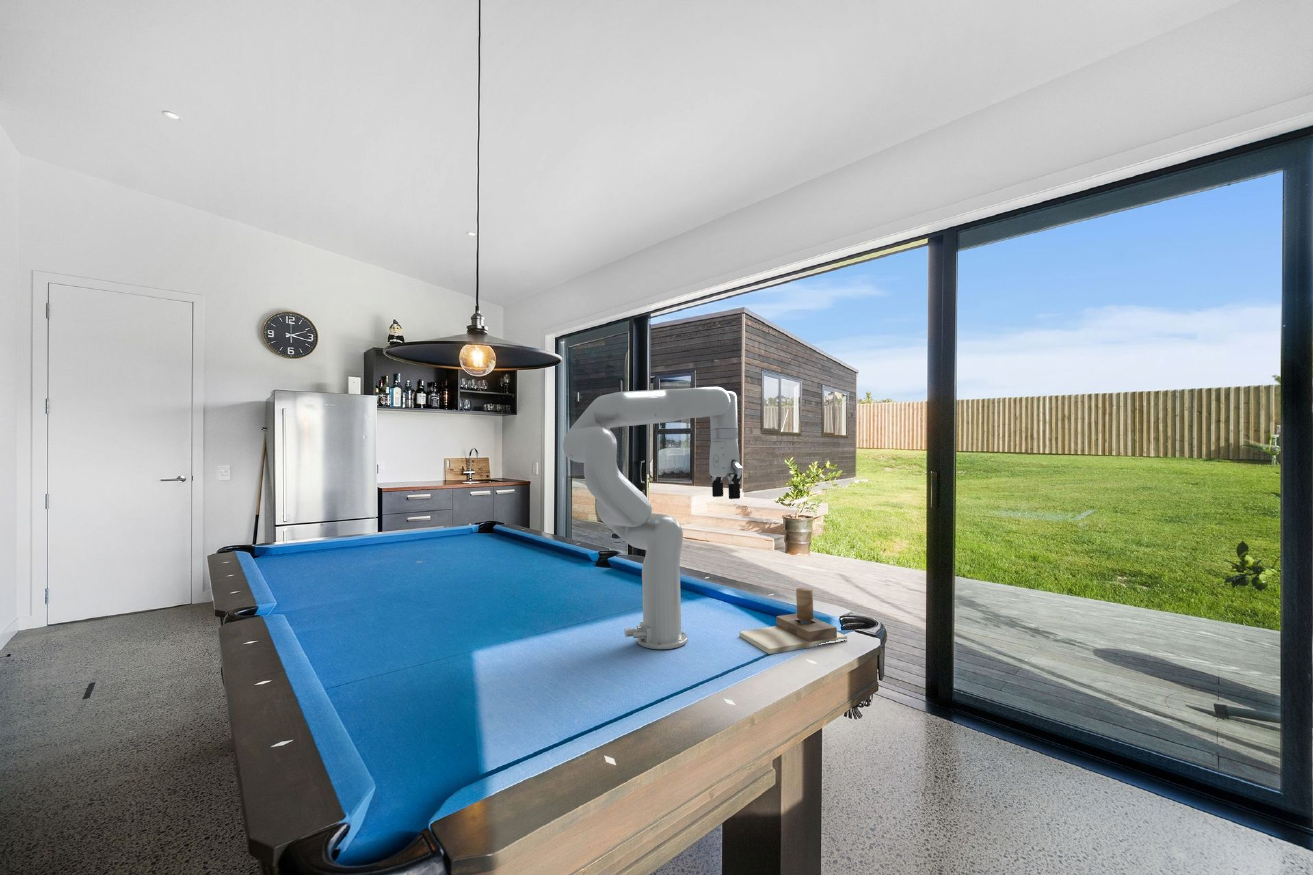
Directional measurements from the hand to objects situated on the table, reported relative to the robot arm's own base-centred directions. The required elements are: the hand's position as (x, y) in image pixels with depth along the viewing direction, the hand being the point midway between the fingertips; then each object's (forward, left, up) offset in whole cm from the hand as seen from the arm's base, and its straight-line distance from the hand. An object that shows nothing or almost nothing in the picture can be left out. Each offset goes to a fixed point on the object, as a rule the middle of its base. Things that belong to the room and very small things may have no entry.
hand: (725, 497), depth 153 cm
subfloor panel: (+8, -18, -34) cm, 40 cm away
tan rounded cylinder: (+12, -18, -33) cm, 40 cm away
